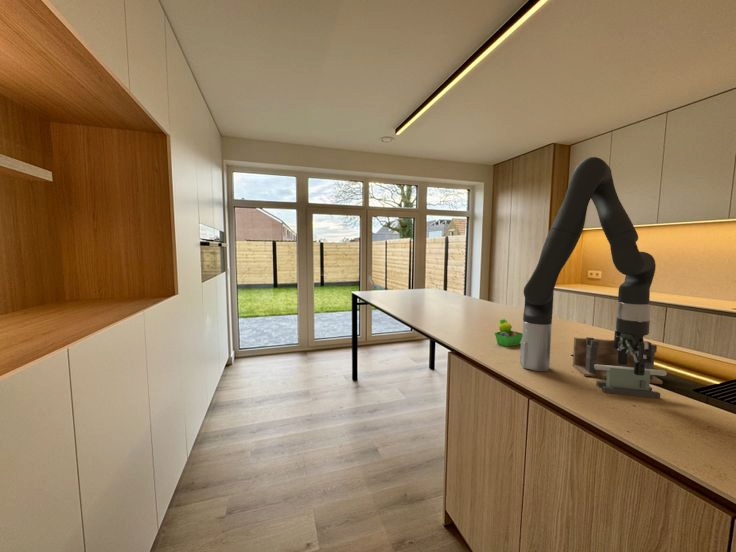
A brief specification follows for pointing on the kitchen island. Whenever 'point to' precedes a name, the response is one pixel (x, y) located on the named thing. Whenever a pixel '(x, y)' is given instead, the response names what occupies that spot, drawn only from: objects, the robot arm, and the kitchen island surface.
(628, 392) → the door rack
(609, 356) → the cabinet frame
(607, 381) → the door
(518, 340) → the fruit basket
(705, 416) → the kitchen island surface
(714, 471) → the kitchen island surface
